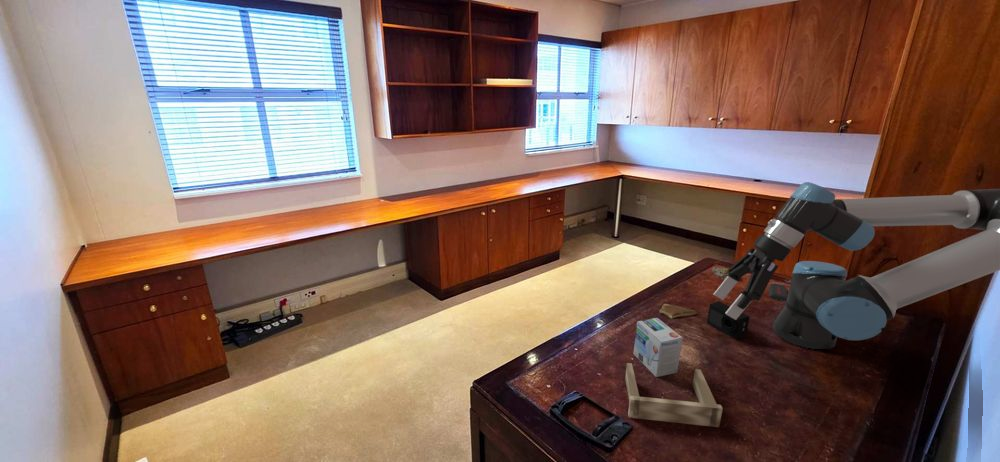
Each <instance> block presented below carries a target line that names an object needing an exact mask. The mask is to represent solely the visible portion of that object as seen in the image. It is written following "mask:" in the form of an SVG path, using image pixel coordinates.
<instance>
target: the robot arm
mask: <svg viewBox="0 0 1000 462" xmlns="http://www.w3.org/2000/svg"><path fill="white" fill-rule="evenodd" d="M903 226H904V227H905V226H906V227H909V226H910V227H911V226H953V227H954V228H957V229H962V230H963V229H964V230H966V229H971V230H973V229H974V230H980V231H981V232H978V233H976V234H974V235H971V236H968V237H966V238H963V239H961V240H959V241H956V242H954V243H951V244H949V245H946V246H944V247H942V248H939V249H937V250H935V251H932V252H930V253H927V254H925V255H923V256H919V257H918V258H915V259H912V260H910V261H908V262H905V263H903V264H901V265H899V266H898V265H897V266H896V267H893V268H891V269H888V270H885V271H884V272H881V273H878V274H876V275H874V276H871V277H869V276H864V275H860V274H859V275H856V276H854V277H852V278H849V279H847V280H846V278H847V277H848V271H847V269H846V267H843V266H840V265H837V264H835V263H829V262H823V261H817V260H816V261H815V260H802V261H799V262H797V263H795V265H794V268H793V270H792V274H791V279H790V284H789V289H788V291H787V295H788V297H787V301H786V302H785V305H784V307H783V309H782V310H781V311H780V313H778V316H777V317H776V318H775V319H774V322H773V327H772V330H773V329H774V330H773V332H774V331H775V332H774V333H775V334H776V335H777V336H778V337H779V336H780V337H779V338H781V339H782V338H783V339H782V340H784V341H786V342H787V343H790V344H792V345H794V346H797V345H798V347H800V346H801V348H804V347H805V348H804V349H808V348H811V349H810V350H814V349H828V350H830V349H829V348H831V349H833V348H835V346H836V344H837V341H838V340H837V339H838V338H841V339H844V340H846V341H847V340H848V341H864V340H868V339H871V338H874V337H875V336H877V335H879V334H880V333H882V329H883V328H885V327H886V325H887V322H888V320H891V319H894V318H895V315H896V311H897V310H898V309H901V308H903V307H906V306H908V305H911V304H913V303H917V302H919V301H922V300H924V299H927V298H929V297H932V296H935V295H937V294H940V293H942V292H945V291H948V290H950V289H953V288H956V287H958V286H961V285H964V284H966V283H969V282H972V281H974V280H977V279H980V278H982V277H985V276H987V275H990V274H992V273H996V272H999V271H1000V188H987V189H970V190H969V189H965V190H964V189H963V190H957V191H956V192H953V194H947V195H946V194H945V195H943V194H942V195H940V194H939V195H919V196H918V195H917V196H916V195H915V196H914V195H913V196H912V195H911V196H890V197H889V196H888V197H887V196H886V197H864V198H863V197H861V198H838V199H837V198H836V195H835V193H834V192H832V191H831V190H829V189H827V188H825V187H822V186H821V185H819V184H817V183H813V182H810V181H807V182H806V181H805V182H802V184H800V185H799V186H798V187H797V188H796V189H795V190H794V191H793V193H792V194H790V196H789V197H788V199H787V200H786V202H785V203H784V204H783V206H782V207H781V208H780V209H779V211H778V212H777V214H776V215H774V217H773V219H771V220H768V222H767V226H766V227H765V228H764V230H763V232H765V233H761V234H760V235H759V236H758V237H757V239H756V240H755V241H754V242H753V246H754V247H755V248H754V247H751V248H749V250H748V251H747V252H746V254H744V255H743V256H742V257H741V258H739V259H738V260H737V261H736V262H735V263H734V264H733V265H732V266H731V267H729V268H727V269H728V272H729V273H728V276H727V278H726V279H723V281H722V283H721V284H720V285H719V286H718V288H717V289H716V290H715V292H714V293H713V295H714V296H715V297H717V298H718V299H720V300H722V301H724V299H725V298H726V297H727V296H728V294H729V293H730V292H731V291H732V289H733V288H734V287H735V285H737V283H738V282H740V281H741V278H742V277H743V276H746V275H747V274H749V273H750V275H749V279H748V281H747V285H746V287H745V290H742V291H740V294H739V296H738V297H737V298H735V300H734V301H733V303H731V305H729V306H730V308H729V309H728V310H727V311H726V313H725V314H726V315H728V316H730V317H732V318H733V319H735V320H736V319H737V318H738V317H739V316H740V314H741V313H744V311H745V310H746V308H747V307H748V306H749V305H750V304H751V303H752V301H757V302H759V301H760V300H761V299H762V296H763V294H764V293H765V290H766V289H767V287H768V284H769V283H770V281H771V279H772V277H773V276H774V274H775V272H776V271H777V269H778V268H779V265H777V264H776V263H774V262H775V260H777V261H779V262H784V260H785V259H786V258H787V256H788V255H789V254H790V253H791V248H796V246H797V245H798V244H799V243H800V241H801V240H803V238H804V236H805V235H806V234H807V233H808V232H809V230H810V231H811V232H814V233H816V234H818V235H819V236H820V237H821V236H822V237H823V238H825V239H826V240H828V241H830V242H831V243H834V244H836V246H838V247H841V248H843V249H846V250H848V251H851V252H853V251H858V250H861V249H864V248H865V247H866V246H868V245H869V244H870V242H872V241H873V239H874V237H875V233H876V231H875V228H874V227H903ZM832 347H833V348H832Z"/></svg>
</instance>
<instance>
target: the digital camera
mask: <svg viewBox="0 0 1000 462" xmlns="http://www.w3.org/2000/svg"><path fill="white" fill-rule="evenodd" d="M730 306H731V305H728V304H726V303H723V302H722V301H719V300H718V301H716V302H712V303H710V304H709V306H708V307H709V308H708V314H707V319H706V323H707V324H708V325H710V326H711V327H713V328H714V329H717V330H718V331H719V332H721V331H722V333H723V334H725V335H726V336H728V335H729V337H730V336H731V337H730V338H732V339H734V340H739V339H742V338H745V337H746V336H747V330H748V326H749V322H750V318H751V317H750V316H749V315H748V314H746V313H744V312H742V313H741V314H740V316H739V317H738V318H737V319H736V320H735V319H733V318H732V317H730V316H728V315H726V314H725V313H726V311H727V310H728V309H729V308H730Z"/></svg>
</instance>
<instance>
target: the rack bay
mask: <svg viewBox="0 0 1000 462" xmlns="http://www.w3.org/2000/svg"><path fill="white" fill-rule="evenodd" d="M693 375H694V376H693V379H692V381H693V382H692V385H691V386H692V388H693V391H694V393H695V395H696V398H697V400H698V402H696V401H688V400H687V401H685V400H677V399H668V398H667V399H666V398H659V397H658V398H656V397H648V396H640V394H639V388H638V385H637V382H636V381H637V380H636V375H635V372H634V367H633V363H631V362H626V369H625V376H624V377H625V378H624V381H625V385H626V386H625V387H626V390H627V396H628V401H629V402H628V411H627V415H628V418H631V419H639V420H648V421H649V420H650V421H659V422H667V423H676V424H677V423H678V424H684V425H685V424H686V425H693V426H694V425H695V426H703V427H705V426H706V427H712V428H719V427H720V424H721V418H722V414H723V406H722V405H721V404H717V402H716V399H715V398H714V395H713V393H712V392H711V389H710V387H709V385H708V382H707V380H706V379H705V376H704V374H703V372H702V369H700V368H699V369H698V368H695V369H694V374H693Z"/></svg>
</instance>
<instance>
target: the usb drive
mask: <svg viewBox="0 0 1000 462" xmlns="http://www.w3.org/2000/svg"><path fill="white" fill-rule="evenodd" d="M769 296H770V298H772V299H777V300H782V301H787V297H788V291H787V287H786V286H785V285H784V284H782V283H778V282H772V283H770V284H769V286H768V297H769ZM777 300H776V301H777ZM782 301H781V302H782Z"/></svg>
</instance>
